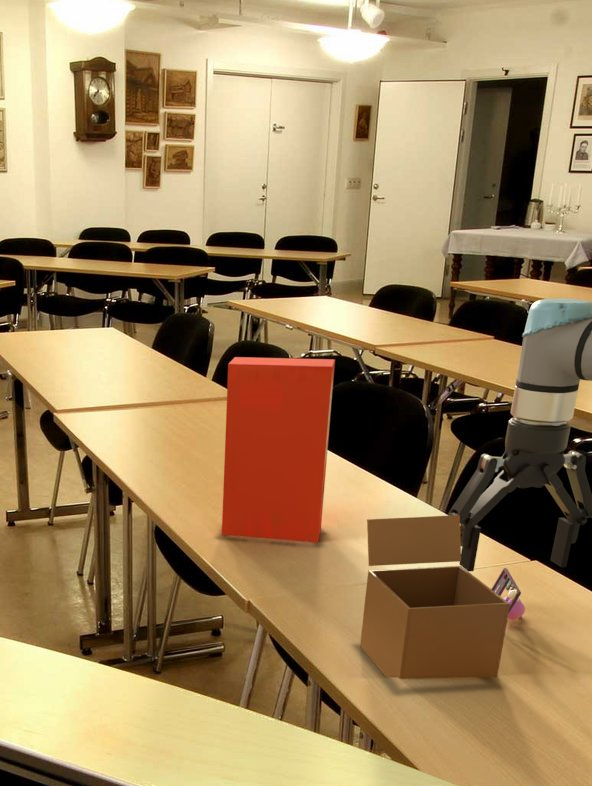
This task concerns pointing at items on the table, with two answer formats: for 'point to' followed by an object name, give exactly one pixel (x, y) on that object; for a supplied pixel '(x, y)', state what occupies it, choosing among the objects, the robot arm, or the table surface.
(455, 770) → the table surface
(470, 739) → the table surface
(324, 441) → the red rectangular block
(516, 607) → the purple product box
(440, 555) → the flap
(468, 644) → the carton
